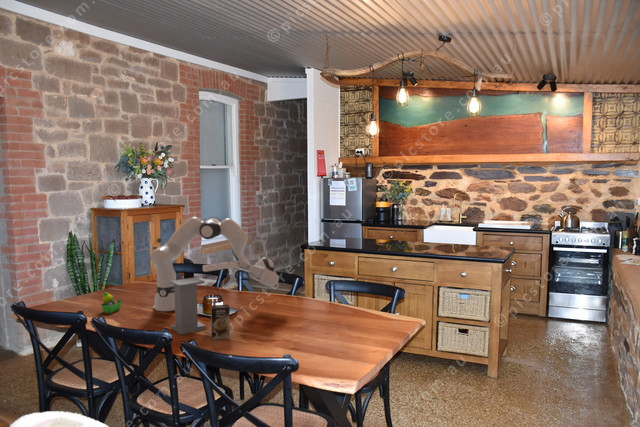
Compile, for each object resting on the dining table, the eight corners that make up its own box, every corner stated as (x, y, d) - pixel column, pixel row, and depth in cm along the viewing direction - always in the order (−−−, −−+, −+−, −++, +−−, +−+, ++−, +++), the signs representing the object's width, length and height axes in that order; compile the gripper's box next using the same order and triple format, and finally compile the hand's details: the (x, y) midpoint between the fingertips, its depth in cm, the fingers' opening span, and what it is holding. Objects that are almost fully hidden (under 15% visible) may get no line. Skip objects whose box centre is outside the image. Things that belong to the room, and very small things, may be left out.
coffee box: (211, 340, 249) (211, 308, 247) (211, 336, 255) (210, 305, 254) (230, 338, 251) (229, 307, 250) (229, 334, 257) (228, 303, 256)
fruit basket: (111, 313, 294) (111, 295, 293) (98, 313, 296) (97, 294, 295) (123, 308, 305) (122, 290, 304) (110, 307, 307) (109, 289, 306)
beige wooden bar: (241, 265, 286) (241, 259, 285) (243, 265, 283) (243, 260, 283) (202, 270, 271) (202, 265, 270) (205, 271, 268) (205, 266, 268)
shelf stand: (195, 323, 275) (194, 277, 273) (205, 329, 266) (204, 281, 264) (171, 328, 266) (169, 281, 264) (180, 334, 257) (179, 285, 255)
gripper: (248, 264, 299) (230, 255, 291) (267, 269, 284) (249, 260, 275) (244, 274, 298) (226, 265, 290) (263, 279, 282) (244, 270, 274)
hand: (237, 262), depth 282 cm, fingers closed on beige wooden bar, 3 cm apart
